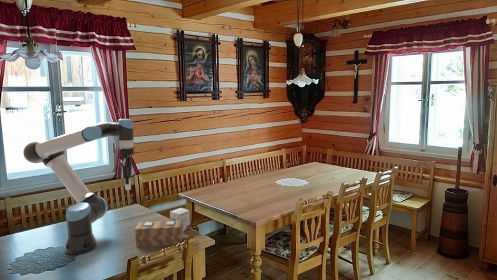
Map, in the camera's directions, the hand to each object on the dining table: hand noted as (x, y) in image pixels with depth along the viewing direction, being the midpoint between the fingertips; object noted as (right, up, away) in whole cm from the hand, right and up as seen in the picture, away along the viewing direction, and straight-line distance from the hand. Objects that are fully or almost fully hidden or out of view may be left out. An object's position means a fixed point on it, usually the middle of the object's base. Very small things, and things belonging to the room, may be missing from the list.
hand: (128, 189), depth 193 cm
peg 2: (+24, -28, +1) cm, 37 cm away
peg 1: (+12, -29, 0) cm, 31 cm away
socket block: (+18, -29, 0) cm, 34 cm away
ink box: (+26, -27, +18) cm, 41 cm away
